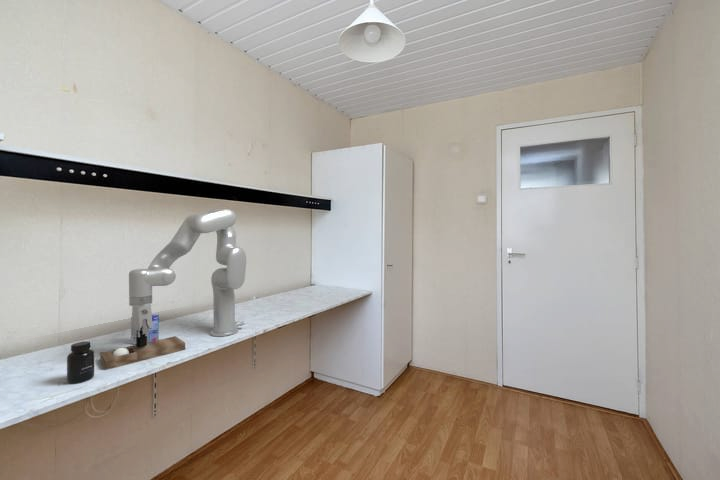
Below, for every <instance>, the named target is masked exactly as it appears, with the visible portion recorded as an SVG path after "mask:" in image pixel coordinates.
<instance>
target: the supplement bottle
mask: <svg viewBox="0 0 720 480" xmlns="http://www.w3.org/2000/svg"><path fill="white" fill-rule="evenodd" d="M94 376H95V351H94V350H93V349H92V347H91V342H90V341H79V342H75V343H72V344H71V345H70V353H69V354H67V356H66V382H67V383H68V384H73V385H74V384H80V383H84V382H87V381H89V380H91V379H93V378H94Z"/></svg>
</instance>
